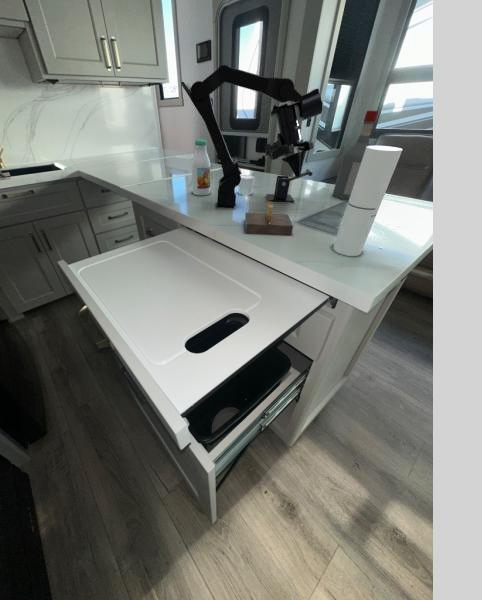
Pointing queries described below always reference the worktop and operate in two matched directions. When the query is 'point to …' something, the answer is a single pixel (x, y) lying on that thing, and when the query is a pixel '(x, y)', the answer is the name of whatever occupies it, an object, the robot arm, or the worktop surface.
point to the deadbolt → (269, 211)
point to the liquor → (353, 160)
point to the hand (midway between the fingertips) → (298, 177)
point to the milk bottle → (201, 169)
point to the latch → (301, 175)
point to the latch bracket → (281, 191)
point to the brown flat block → (268, 224)
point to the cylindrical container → (366, 198)
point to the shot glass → (246, 184)
